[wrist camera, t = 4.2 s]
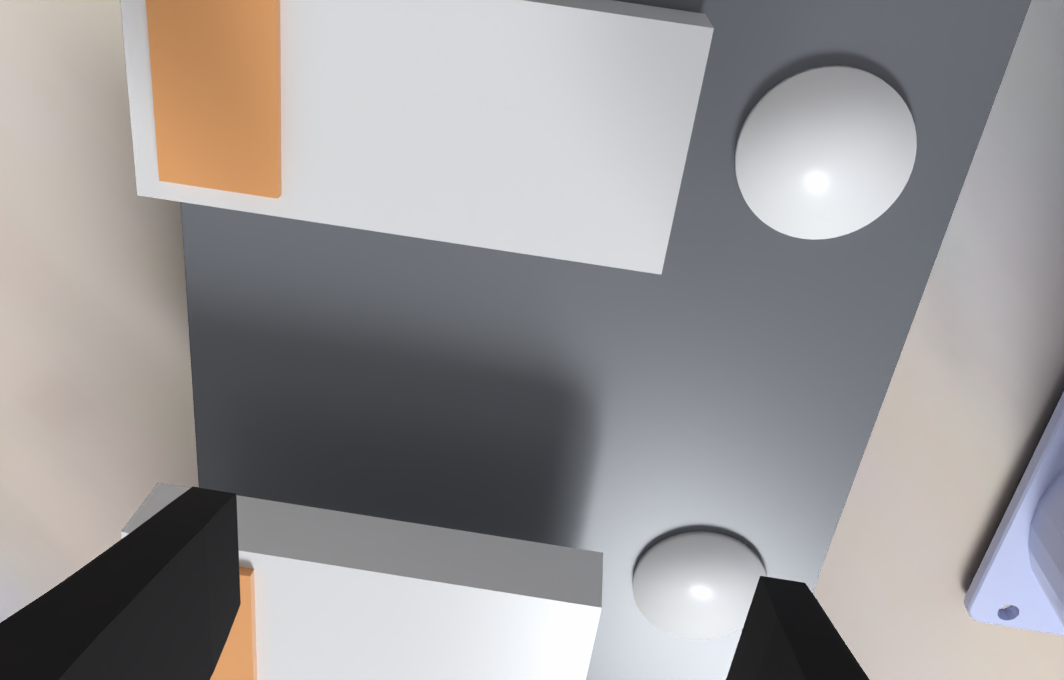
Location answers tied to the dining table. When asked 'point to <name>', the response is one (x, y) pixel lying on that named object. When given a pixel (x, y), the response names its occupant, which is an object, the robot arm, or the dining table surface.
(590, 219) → the switch middle
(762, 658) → the robot arm
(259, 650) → the switch on end
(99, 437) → the dining table surface
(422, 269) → the switch panel
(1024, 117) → the dining table surface
